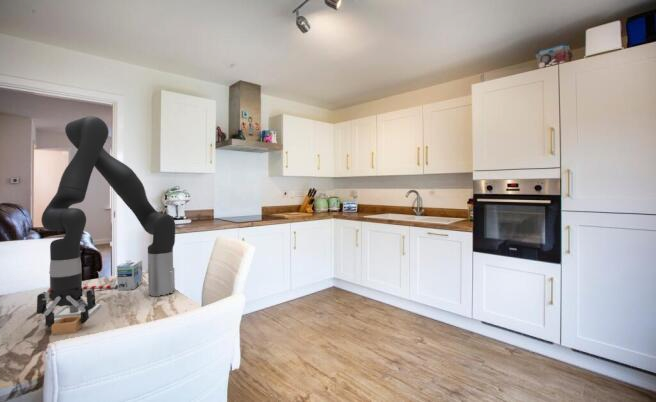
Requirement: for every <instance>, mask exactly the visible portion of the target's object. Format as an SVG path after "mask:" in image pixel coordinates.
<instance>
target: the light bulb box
mask: <svg viewBox="0 0 656 402" xmlns="http://www.w3.org/2000/svg"><path fill="white" fill-rule="evenodd" d="M116 274H117V277H116V278H117V285H118V289H117V292H118V291H119V292H120V291H132V290H131V289H134V290H135V288H136V287H137V286H138V285H139V286H141V285H142V284H143V283H142V282H143V280H144V279H143V260H142V259H137V260H135V259H134V260H130V259H129V260H125V261H124V262H122V263H120V264H118V265H117V266H116ZM141 283H142V284H141ZM140 284H141V285H140ZM139 286H138V287H139ZM138 287H137V288H138ZM137 288H136V289H137Z"/></svg>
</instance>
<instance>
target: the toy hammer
mask: <svg viewBox="0 0 656 402" xmlns="http://www.w3.org/2000/svg"><path fill="white" fill-rule="evenodd" d="M91 288H93V289H94V290H109V289H110V290H111V289H112V290H113V289H114V290H118V284H115V285H82V289H83V290H90V289H91ZM50 292H51V289H50V287H49V288H48V289H47V290H46V293H50ZM48 300H50V301H52V300H51V299H50V298H48Z"/></svg>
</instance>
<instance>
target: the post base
mask: <svg viewBox="0 0 656 402" xmlns="http://www.w3.org/2000/svg"><path fill="white" fill-rule="evenodd" d="M95 304H96V305H95V306H94V307H93V308H92V309H90V310H88V313H89V318H90V317H92V315H94V314H95V313H96V312H97V311H98V310H100V308H101V307H102V303H97V302H95ZM53 313H54V323H55V322H57V321H58V320H59V319H61V318H62V317H70V316H80V315H81V311H80V310H79V309H78V308H76V307H75V306H74V305H72V306H61V307H60V308H59V309H58V310H56V311H55V312H53ZM42 325H46V323H45V319H44V320H42Z"/></svg>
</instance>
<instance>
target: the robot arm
mask: <svg viewBox="0 0 656 402" xmlns="http://www.w3.org/2000/svg"><path fill="white" fill-rule="evenodd" d="M64 131H65V132H64V133H65V135H66V137H67V139H68V141H70V143H71V144H72V145H73V146H74V147H75V149H77V151H76V152H75V154H74V156H73V157H72V159H71V161H70V162H69V163H68V165H67V166H66V167H65V169H64V171H63V173H62V175H61V177H60V181H59V183H58V187H57V190H56V193H55V195H54V196H53V198H51V200H50V202H49V203H48V205H47V206H46V207H45V209H44V211H43V212H42V215H41V225H42V227H43V228H44V229H45V230H46V231H49V232H65V235H64V236H63V238H57V239H54V240H52V241H51V242H50V245H49V253H50V254H49V258H50V261H49V263H50V264H49V272H48V273H49V288H50V289H51V292H50V293H47V291H44V292H41V293H39V294H37V295H36V296H37V297H36V314H37V315H41V314H42V315H44V320H45V323H46V324H45V325H46V326H47V327H48V328H52V327H51V325H53V324H54V313H55V312H54V311H55V309H56V308H57V307H60V308H62V307H64V306H72V305H74V306H75V307H76V308H78V309H79V310H80V311H81V324H84V323H85V324H86V322H87V321H88V320H89V318H90V317H89V313H88V310H90V309H92V308H93V307H94V306H95V305H96V304H97V303H96V296H95V295H96V294H95V289H93V288H91V289H85V290H83V289H82V286H83V279H82V276H83V275H82V273H83V272H82V271H83V270H82V261H81V245H80V244H81V241H82V238H83V234H84V230H85V227H86V223H87V216H86V213H85V212H84V211H83V210H82V209H81V208H76V207H71V206H74V205H77V204H81V203H82V202H84V200H85V198H86V195H87V191H88V188H89V187H88V186H89V183H90V181H91V177H92V176H91V175H92V173H93V170H94V168H95V169H96V170H97V171H98V173H100V174H101V176H102V177H103V178H104V180H105V181H106V182H107V184H109V186H110V187H111V189H113V191H114V192H115V193H116V194H117V195H118V197H119V198H120V199H121V200H122V201H123V202H124V204H125V205H126V206H127V207H128V208H129V209H130V210H131V211H132V213H133V215H134V216H135V218H136V219H137V220H138V221H139V222H138V223H139V224H140V225H141V227H142V228H143V230H144V231H145V232H147V234H149V235H152V243H151V244H149V245H148V246H147V271H148V273H147V275H148V279H147V280H148V281H147V282H148V283H147V284H148V295H149V296H150V295H151V297H161V296H160V295H163V296H166V295H165V294H168V295H170V294H169V293H172V292H173V291H174V292H175V290H174V289H175V288H176V287H175V286H176V283H175V280H176V279H175V276H176V275H175V268H174V246H175V242H176V222H175V219H174V217H173V216H171V214H168V213H162V212H161V213H160V212H158V211H157V210H156V209H155V208H154V207H153V205H152V204H151V203H150V202H149V199H148V197H147V193H146V192H147V191H146V189H145V187H144V184H143V183H142V181H141V179H140V178H139V177H138V176H137V174H136V173H135V172H134V170H133V169H132V168H131V167H129V166H128V165H127V164H125V163H124V162H122V161H120V160H119V159H117V158H116V157H114V156H112V154H110V153H109V152H107V151H106V150H105V148H104V146H105V143H106V142H107V139H108V137H109V127H108V125H107V123H106V122H105V121H104V120H103V119H102V118H99V117H97V116H95V115H94V116H93V115H91V116H86V117H81V118H79V119H76V120H73V121H69V122H68V123H67V124H66V125H65V128H64ZM174 292H173V293H174ZM173 293H172V294H173ZM83 295H84V297H85V298H86V301H85V299H83V298H82V297H83ZM49 298H50V299H51V300H50V299H49ZM48 300H50V301H51V303H50V305H49V306H48V307H47V301H48ZM95 303H96V304H95ZM85 324H84V325H85Z"/></svg>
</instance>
